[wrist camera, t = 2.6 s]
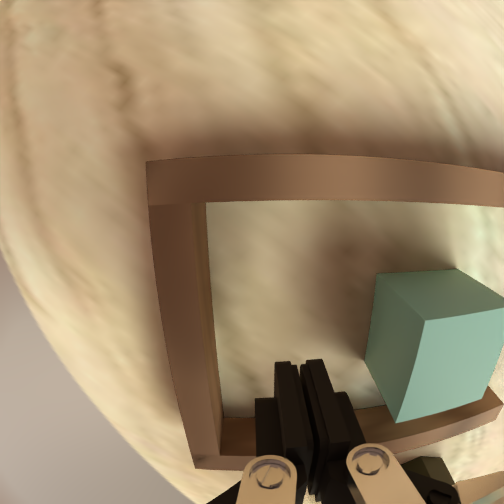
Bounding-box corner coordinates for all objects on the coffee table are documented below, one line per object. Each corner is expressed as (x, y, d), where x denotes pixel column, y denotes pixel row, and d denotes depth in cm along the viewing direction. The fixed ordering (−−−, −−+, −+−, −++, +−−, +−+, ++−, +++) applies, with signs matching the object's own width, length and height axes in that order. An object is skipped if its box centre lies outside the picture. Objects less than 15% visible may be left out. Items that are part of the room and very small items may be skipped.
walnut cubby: (526, 179, 12) (561, 185, 9) (476, 395, 16) (495, 419, 13) (169, 162, 13) (145, 161, 10) (201, 432, 17) (195, 468, 14)
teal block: (456, 268, 14) (515, 305, 9) (439, 348, 15) (481, 398, 10) (376, 272, 14) (425, 320, 9) (363, 360, 15) (395, 423, 10)
